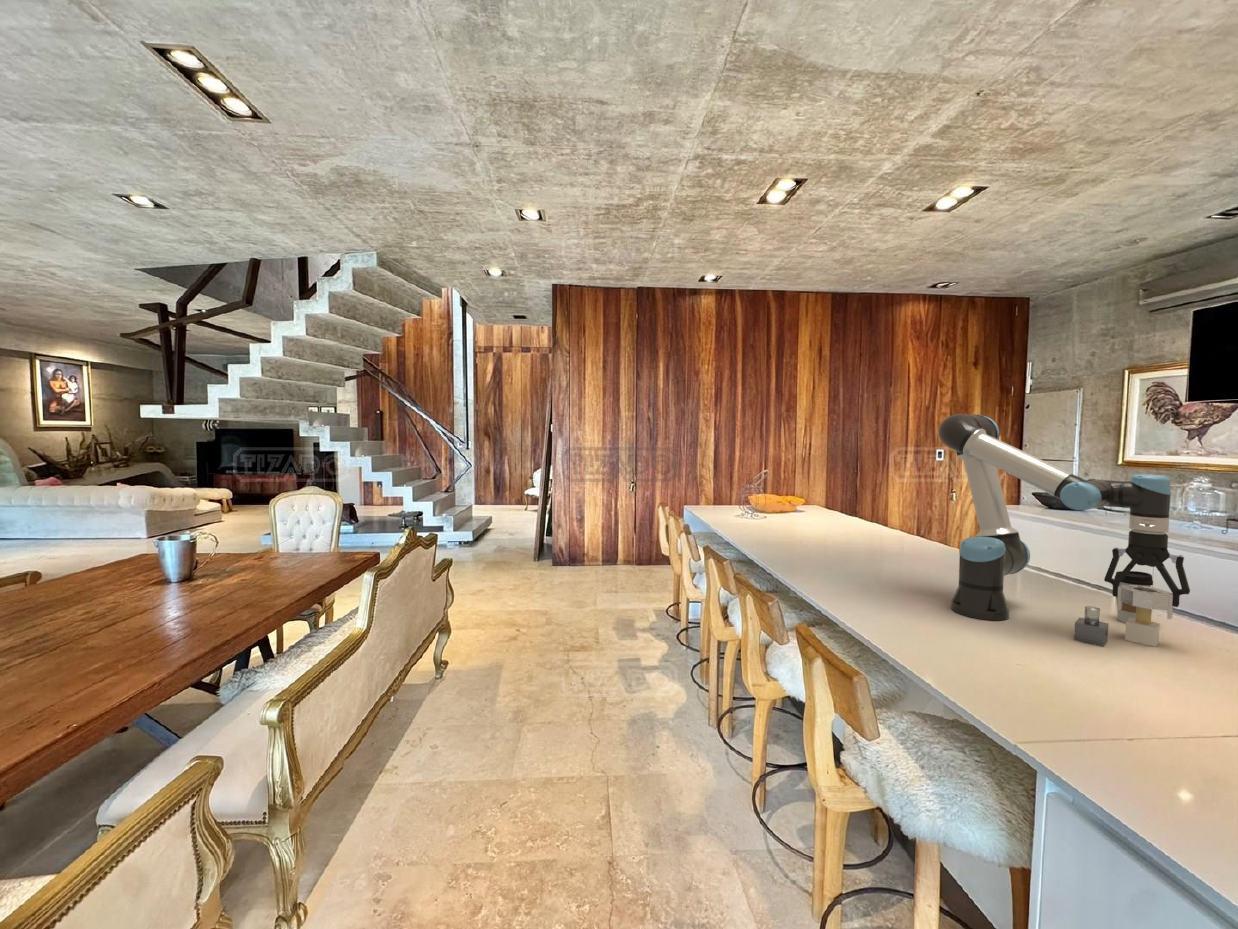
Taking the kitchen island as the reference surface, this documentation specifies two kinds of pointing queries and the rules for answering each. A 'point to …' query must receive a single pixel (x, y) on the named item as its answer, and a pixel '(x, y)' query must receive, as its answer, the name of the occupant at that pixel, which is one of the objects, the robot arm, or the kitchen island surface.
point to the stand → (1091, 628)
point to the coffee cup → (1132, 579)
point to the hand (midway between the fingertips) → (1143, 613)
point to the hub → (1142, 628)
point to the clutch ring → (1145, 597)
